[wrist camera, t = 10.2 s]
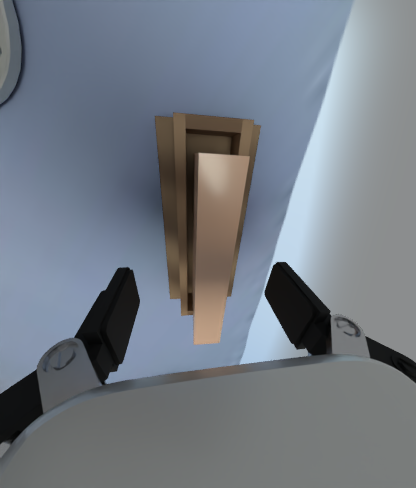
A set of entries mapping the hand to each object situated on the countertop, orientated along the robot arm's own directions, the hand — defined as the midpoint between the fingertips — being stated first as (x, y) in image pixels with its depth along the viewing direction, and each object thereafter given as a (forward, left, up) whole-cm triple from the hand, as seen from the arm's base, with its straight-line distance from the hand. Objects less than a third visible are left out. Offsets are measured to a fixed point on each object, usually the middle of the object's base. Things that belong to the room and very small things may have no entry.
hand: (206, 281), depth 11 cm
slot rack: (+1, +1, -10) cm, 10 cm away
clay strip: (+1, +1, -9) cm, 9 cm away
